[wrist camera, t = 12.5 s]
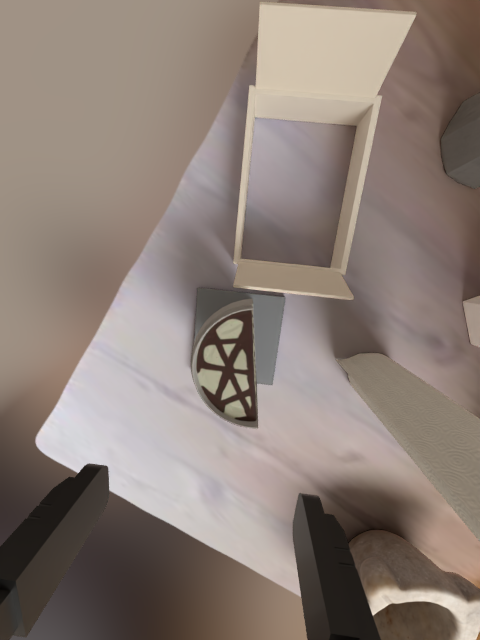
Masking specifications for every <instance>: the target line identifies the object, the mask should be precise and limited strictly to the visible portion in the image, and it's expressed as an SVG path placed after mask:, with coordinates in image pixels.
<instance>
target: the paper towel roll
mask: <svg viewBox="0 0 480 640" xmlns="http://www.w3.org/2000/svg"><path fill="white" fill-rule="evenodd" d="M336 361H337V362H338V363H339V364H340V366H341V367H342V368H343V369H344V370H345V371H346V372H347V373H348V378H349V381H350V384H351V386H352V387H353V388H354V389H355V391H356V392H357V393H358V394H359V396H360V397H361V398H362V399H363V400H364V402H365V403H366V404H367V405H368V406H369V408H370V409H371V410H372V411H373V413H374V414H375V415H376V416H377V417H378V419H379V420H380V421H381V422H382V423H383V425H384V426H385V427H386V428H387V430H388V431H389V432H390V433H391V434H392V436H393V437H394V438H395V439H396V440H397V442H398V443H399V444H400V445H401V447H402V448H403V449H404V450H405V451H406V453H407V454H408V455H409V456H410V457H411V459H412V460H413V461H414V462H415V464H416V465H417V466H418V467H419V468H420V470H421V471H422V472H423V473H424V474H425V476H426V477H427V478H428V479H429V481H430V482H431V483H432V484H433V485H434V487H435V488H436V489H437V490H438V491H439V493H440V494H441V495H442V496H443V498H444V499H445V500H446V501H447V502H448V504H449V505H450V506H451V507H452V508H453V510H454V511H455V512H456V513H457V515H458V516H459V517H460V518H461V519H462V521H463V522H464V523H465V524H466V525H467V527H468V528H469V529H470V530H471V532H472V533H473V534H474V535H475V536H476V538H477V539H478V540H479V541H480V419H479V418H478V417H477V416H475V415H474V414H472V413H471V412H469V411H468V410H466V409H465V408H463V407H462V406H460V405H459V404H457V403H456V402H454V401H453V400H451V399H450V398H448V397H447V396H445V395H444V394H442V393H441V392H439V391H438V390H436V389H435V388H433V387H432V386H430V385H429V384H427V383H426V382H424V381H423V380H421V379H420V378H418V377H417V376H416V375H414V374H413V373H411V372H410V371H408V370H407V369H405V368H404V367H402V366H401V365H399V364H398V363H396V362H395V361H393V360H392V359H390V358H389V357H387V356H385V355H382V354H380V353H360V354H357V355H354V356H352V357H350V358H347V359H342V360H337V359H336Z"/></svg>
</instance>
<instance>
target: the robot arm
mask: <svg viewBox="0 0 480 640" xmlns="http://www.w3.org/2000/svg"><path fill="white" fill-rule="evenodd" d="M108 499H109V475H108V467H107V466H104V465H97V464H87V465H85V466H84V467H83V468H82V470H81V471H80V472H79V473H78V474H77V476H76V477H75V478H73V477H68V478H67V479H66V480H64V481H63V482H61V483H60V484H59V485H58V486H56V487H54V488H53V489H52V490H51V491H50V492H49V494H48V495H47V496H46V497H45V498H44V499H43V500H42V501H41V502H40V505H39V506H37V507H36V508H35V509H34V510H33V511H32V512H31V513H30V515H29V516H28V518H27V519H25V520H24V521H23V522H22V524H20V526H19V527H18V528H17V529H16V530H15V531H14V532H13V533H12V535H10V537H9V538H8V539H7V540H6V541H5V542H4V543H3V545H1V546H0V640H9V639H10V638H11V637H12V635H15V636H21V637H27V635H28V633H29V632H30V630H31V629H32V627H33V625H34V624H35V622H36V621H37V619H38V617H39V616H40V614H41V613H42V611H43V609H44V608H45V606H46V604H47V603H48V601H49V600H50V598H51V596H52V595H53V593H54V591H55V590H56V588H57V586H58V585H59V583H60V582H61V580H62V578H63V577H64V575H65V574H66V572H67V570H68V569H69V567H70V565H71V564H72V562H73V561H74V559H75V557H76V556H77V554H78V552H79V551H80V549H81V547H82V546H83V544H84V543H85V541H86V539H87V538H88V536H89V534H90V533H91V531H92V530H93V528H94V526H95V525H96V523H97V521H98V520H99V518H100V517H101V515H102V513H103V512H104V509H105V507H106V505H107V502H108ZM293 542H294V549H295V556H296V563H297V570H298V577H299V584H300V591H301V598H302V605H303V612H304V619H305V625H306V632H307V639H308V640H381V638H380V635H379V633H378V630H377V627H376V624H375V621H374V618H373V615H372V612H371V609H370V606H369V603H368V600H367V597H366V594H365V591H364V588H363V586H362V583H361V580H360V577H359V574H358V571H357V569H356V567H355V562H354V559H353V556H352V553H351V552H350V547H349V544H348V542H347V539H346V536H345V533H344V530H343V529H342V527H341V526H340V524H339V523H338V521H337V520H336V518H335V517H334V515H330V514H324V511H323V507H322V504H321V500H320V498H319V496H316V495H308V494H301V493H299V495H298V500H297V505H296V510H295V515H294V520H293Z"/></svg>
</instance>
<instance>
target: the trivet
mask: <svg viewBox="0 0 480 640" xmlns="http://www.w3.org/2000/svg"><path fill="white" fill-rule="evenodd" d="M252 298H253V306H254V329H255V352H256V377H257V384H266V385H273V378H274V372H275V365H276V358H277V351H278V345H279V338H280V331H281V325H282V318H283V311H284V305H285V297H284V296H274V295H265V294H256V293H247V292H237V291H228V290H219V289H209V288H200V287H199V288H197V303H196V320H195V338H196V336H197V334H198V332H199V330H200V328H201V327H202V326H203V324H204V323H205V322H206V320H207V319H208V318H209V317H210V316H212V315H213V314H214V313H215V312H216V311H218V310H219V309H221V308H222V307H224V306H227V305H229V304H231V303H233V302H237V301H240V300H245V299H252ZM195 338H194V342H195Z"/></svg>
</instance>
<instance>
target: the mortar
mask: <svg viewBox="0 0 480 640" xmlns="http://www.w3.org/2000/svg"><path fill="white" fill-rule="evenodd" d="M349 547H350V552H351V553H352V556H353V559H354V562H355V567H356V569H357V571H358V574H359V577H360V580H361V583H362V586H363V588H364V591H365V594H366V597H367V600H368V603H369V606H370V609H371V612H372V615H373V618H374V621H375V624H376V627H377V630H378V633H379V635H380V638H381V640H476V639H477V636H478V634H479V632H480V589H479V588H477V587H476V586H475V585H474V584H472V583H471V582H469V581H468V580H467V579H465V578H463V577H462V576H460V575H459V574H456V573H453V572H445V571H443V570H441V569H440V568H439V567H437V566H436V565H435V564H434V563H433V562H432V561H431V560H430V559H428V558H427V557H426V556H425V555H424V554H423V553H421V552H420V551H419V550H418V549H417V548H416V547H414V546H413V545H412V544H410V543H409V542H408V541H406V540H405V539H403V538H401V537H400V536H398V535H396V534H393V533H391V532H388V531H384V530H369V531H366V532H363V533H361V534H359V535H358V536H356V537H355V538H353V539H352V540H351V541H350V543H349Z"/></svg>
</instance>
